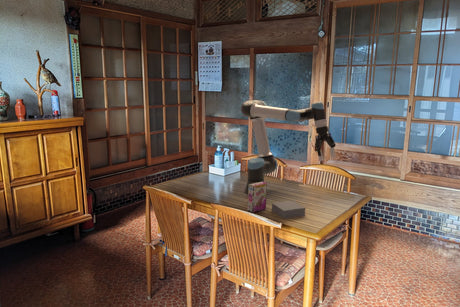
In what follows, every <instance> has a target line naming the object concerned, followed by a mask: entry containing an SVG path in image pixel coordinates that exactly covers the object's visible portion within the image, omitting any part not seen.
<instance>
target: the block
mask: <svg viewBox="0 0 460 307" xmlns="http://www.w3.org/2000/svg"><path fill="white" fill-rule="evenodd" d="M271 211H272V212H274V213H275V214H276V215H278V216H279V217H280V218H282V219H283V218H284V219H290V218H291V219H292V218H297V217H304V216H306V207H305V206H303V205H301V204H299V203H298V202H296V201H294V200H287V201H286V200H285V201H279V202H278V201H277V202H272V203H271Z"/></svg>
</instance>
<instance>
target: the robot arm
mask: <svg viewBox="0 0 460 307" xmlns="http://www.w3.org/2000/svg"><path fill="white" fill-rule="evenodd" d="M240 112H241V114H242V115H243V116H244V117H246V118H249V121H251V122H252V125H253V131H254V136H255V142H256V146H257V148H256V149H257V153H258V155H257V156H256V157H253V158H250V159H249V160H248V162H247V181H246V184H245V187H244V193H246V194H248V184H253V183H258V182H264V183H265V176H266V175H268V174H272V173H274V172H275V171H277V169H278V160H277V158H275V157H274V154H273V153H272V151H271V149H270V144H269V137H268V133H267V127H266V122H265V119H267V118H268V119H274V120H280V121H286V122H289V123H298V122H299V123H302V122H305V121H309V120H313V122H314V127H315V133H316V134H317V135H314V138H315V141H314V151H315V152H317V157H318V160H319V162H325V161H324V156H323V150H322V147H323V143H324V142H326V144H327V145H328V146H329V152H330V157H331V158H332V159H333V158H336V153H335V152H336V151H335V147H336V143H335V140H334V139H333V137H332V135H331V134H332V133H331V132H329V127H328V122H327V117H326V116H327V115H326V110H325V106H324V103H323V102H322V101H319V102H314V103H311V105H310V107H307V108H303V109H302V108H301V109H291V108H290V109H289V108H284V107H283V108H282V107H274V106H267V104H266V103H265V101H263V100H259V99H253V100H245V101H244V102H243V103H241V106H240Z"/></svg>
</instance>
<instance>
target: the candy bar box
mask: <svg viewBox="0 0 460 307" xmlns="http://www.w3.org/2000/svg"><path fill="white" fill-rule="evenodd" d="M267 187H268V183H267V182H265V181H264V182H258V183H253V184H248V193H247V211H248V212H250V213H255V212H259V211H263V210H266V208H267V193H268V192H267V190H268V189H267Z"/></svg>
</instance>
